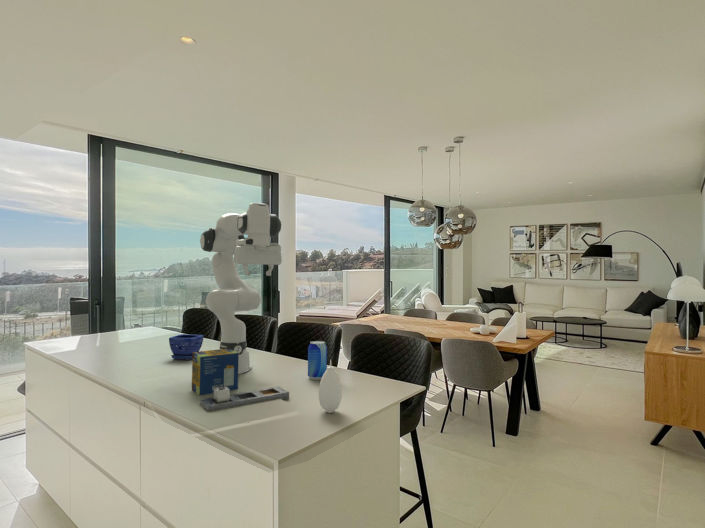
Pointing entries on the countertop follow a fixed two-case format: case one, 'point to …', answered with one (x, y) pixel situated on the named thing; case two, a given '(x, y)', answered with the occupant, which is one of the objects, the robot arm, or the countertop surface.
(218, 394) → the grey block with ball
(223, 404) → the grey compartment tray
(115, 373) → the countertop surface
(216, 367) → the protein box
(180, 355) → the flower pot
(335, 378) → the white teardrop vase
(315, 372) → the beer can
